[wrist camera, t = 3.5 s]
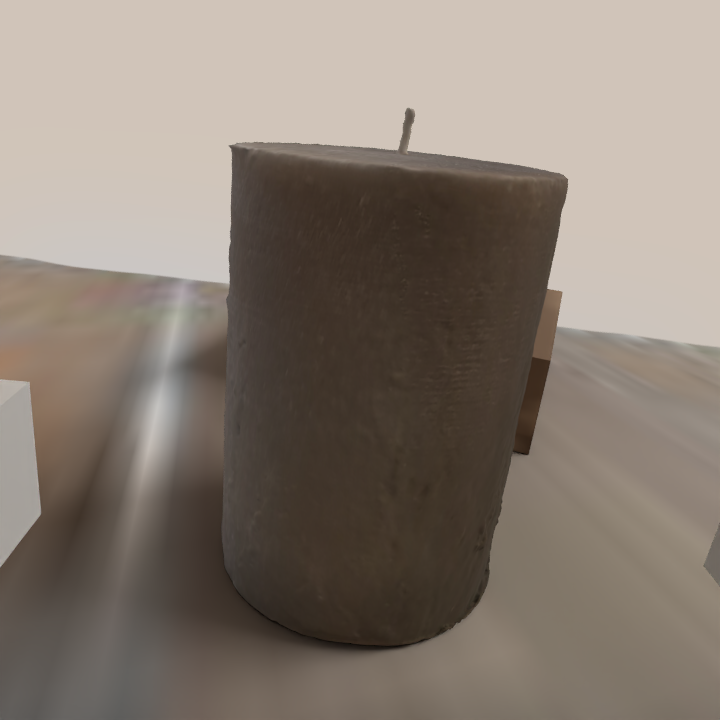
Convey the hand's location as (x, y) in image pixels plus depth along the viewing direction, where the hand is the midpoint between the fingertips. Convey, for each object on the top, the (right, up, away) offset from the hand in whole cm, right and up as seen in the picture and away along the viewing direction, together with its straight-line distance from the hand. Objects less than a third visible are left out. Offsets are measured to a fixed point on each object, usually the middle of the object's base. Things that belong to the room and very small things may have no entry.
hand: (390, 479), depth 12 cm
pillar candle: (-1, -5, +11) cm, 12 cm away
